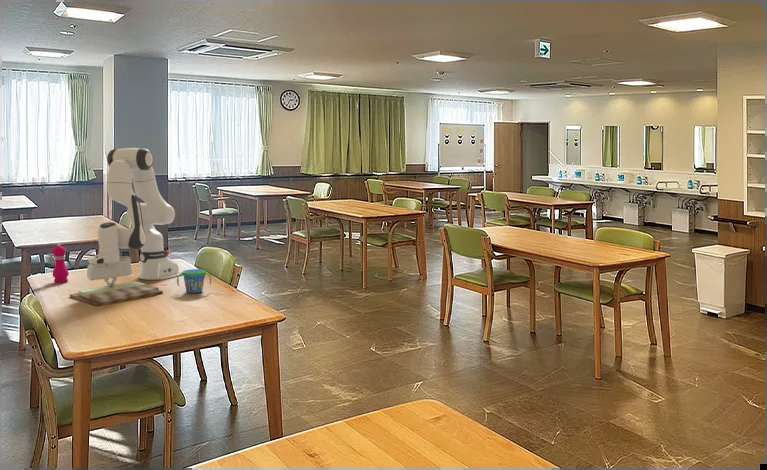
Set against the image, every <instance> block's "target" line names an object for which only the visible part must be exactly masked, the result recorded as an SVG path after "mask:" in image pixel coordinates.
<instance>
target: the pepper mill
mask: <svg viewBox="0 0 767 470" xmlns="http://www.w3.org/2000/svg"><path fill="white" fill-rule="evenodd" d="M66 253H67V250H66V247H65V246H62V244H61V243H59V242H58V243H56V246H55V247H53V248H52V254H53V255H54V256H53V258H54V262H55V263H54V268H53V270H52V276H53V278H54V279H53V283H54V282H55V283H54V284H56V283H62V284H66V283H65V282H67V283H69V278H68V276H69V270H68V268H67V266H66V263H65V259H66V255H65V254H66Z"/></svg>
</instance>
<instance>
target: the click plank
mask: <svg viewBox="0 0 767 470" xmlns="http://www.w3.org/2000/svg"><path fill="white" fill-rule="evenodd" d="M142 285H148V284H146V283H144V282H140V281H136V280H134V281H130V282H128V281H127V282H124V283H117V284H116V283H115V286H114V287H109V288H108V287H107V285H106V286H100V287H99V286H98V287H93V288H88V289H87V288H86V289H81V290H78V292H77V293H79V295H80V296H83V297H86V298H89V294H95V293H101V292H107V291H113V290H118V289H124V288H130V287H136V286H142Z"/></svg>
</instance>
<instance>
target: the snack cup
mask: <svg viewBox="0 0 767 470" xmlns="http://www.w3.org/2000/svg"><path fill="white" fill-rule="evenodd" d="M181 272H182V273H180V274H179V275H178V276H177V279H176V282H177V283H176V284H177V286H180V283H179V280H180V279H179V277H180V275H181V274H182V275H181V276H183V281H184V282H183V283H184V287H185V291H186V293H187V294H199V293H202V292H203V291H204V284H205V283H204V282H205V279H206V278H205V277H206V275H208V277H209V285H212V284H211V283H212V276H211V274H210V273H209V272H208V271H206V270H205V269H198V268H197V269H185V270H182V271H181Z"/></svg>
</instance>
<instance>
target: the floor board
mask: <svg viewBox="0 0 767 470" xmlns="http://www.w3.org/2000/svg"><path fill="white" fill-rule="evenodd" d="M162 294H164V293H163V290H160V288H159V287H157V286H154V285H150V284H147V285H142V286H136V287H130V288H124V289H118V290H113V291H107V292H101V293H95V294H89V298H86V297H83V296H80V295H79V292H76V293H70V294H69V297H70V298H71V297H72V298H71V299H74V298H75V300H77V299H78V300H77V301H80V300H81V301H80V302H83V303H85V304H89V305H92V306H95V307H99V306H104V305H109V304H115V303H120V302H126V301H130V300H136V299H142V298H146V297H153V296H158V295H162Z"/></svg>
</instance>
